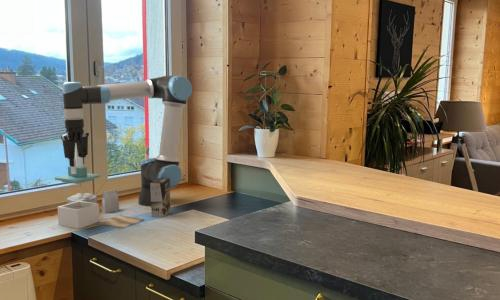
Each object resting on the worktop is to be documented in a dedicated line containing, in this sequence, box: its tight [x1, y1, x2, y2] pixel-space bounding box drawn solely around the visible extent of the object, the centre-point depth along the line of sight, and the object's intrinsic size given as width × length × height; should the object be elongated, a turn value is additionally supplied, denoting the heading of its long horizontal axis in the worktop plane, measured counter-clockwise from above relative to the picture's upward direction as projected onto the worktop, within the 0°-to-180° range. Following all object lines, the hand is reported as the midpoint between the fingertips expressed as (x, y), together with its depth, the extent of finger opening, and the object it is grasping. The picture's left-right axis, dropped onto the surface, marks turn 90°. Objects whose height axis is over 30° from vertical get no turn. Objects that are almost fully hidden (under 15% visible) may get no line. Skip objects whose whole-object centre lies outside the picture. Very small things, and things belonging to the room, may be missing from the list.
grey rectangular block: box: [101, 189, 120, 214], centre depth 226 cm, size 4×7×10 cm, turn 129°
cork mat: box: [97, 214, 145, 229], centre depth 209 cm, size 14×14×1 cm
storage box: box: [57, 201, 101, 230], centre depth 206 cm, size 12×12×8 cm
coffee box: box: [150, 178, 172, 218], centre depth 219 cm, size 9×6×16 cm
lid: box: [54, 165, 101, 185], centre depth 204 cm, size 13×13×6 cm
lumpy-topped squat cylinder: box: [66, 192, 98, 204], centre depth 224 cm, size 10×13×9 cm
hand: (77, 173), depth 204 cm, fingers closed on lid, 3 cm apart
